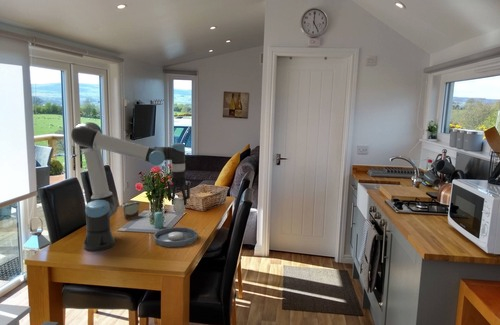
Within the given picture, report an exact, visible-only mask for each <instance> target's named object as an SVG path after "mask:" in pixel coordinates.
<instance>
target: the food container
mask: <svg viewBox="0 0 500 325" xmlns="http://www.w3.org/2000/svg"><path fill="white" fill-rule="evenodd" d="M140 203H141V202H140V201H138V200H129V201H128V200H127V201H124V202H122V205H121V208H122V209H123V216H124V220H129V219H133V218H137V217H139V212H140Z"/></svg>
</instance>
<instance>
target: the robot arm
mask: <svg viewBox="0 0 500 325" xmlns="http://www.w3.org/2000/svg"><path fill="white" fill-rule="evenodd" d="M71 139H72V142H74V143H75V144H77V145H78V147H79V150H80V151H82V152H83V154H84V159H85V164H86V168H87V173H88V178H89V182H90V183H89V184H90V188H91V191H92V195H91V196H90V201H89V202H88V203H87V204H85V209H84V212H85V222H86V235H85V237H84V241H83V249H85V250H86V251H87V250H88V251H93V252H94V251H97V252H98V251H104V250H108V249H110V248H112V247H113V246H114V245H115V244H116V242H115V238H114V235H113V233H112V230H111V218H112V217H113V215H114V214H115V213H116V211H117V208H118V203H117V200H116V199H115V197H114V194H113V192H112V191H110V188H109V184H108V179H107V173H106V169H105V164H104V160H103V155H102V151H101V150H104V151H108V152H111V153H115V154H118V155H123V156H125V157H130V158H133V159H137V160H141V161H144V162H146V163H147V162H148V163H150V164H151V165H153V166H159V165H161V164H163V163H164V161H171V179H170V180H168V181H166V184H167V190H168V191H167V197H168V199H170V200H171V205H172V206H173V211H174V212H175V198H176V194H177V189H178V187H179V188H180V191H181V193H182V198H183V200H182V209H183V211H184V212H185V211H186V205H187V204H188V202H187V200H189V199H190V198H191V189H190V188H191V183H192V182H191V181H190V180H189V181H188V180H187V179H186V171H185V170H186V146H185V144H184V143H183V142H173V143H171V145H170V146H151V147H150V146H146V145H142V144H139V143H136V142H132V141H129V140H125V139H122V138H118V137H114V136H110V135H108V134H103V131H102V128H101V126H99V125H98V124H97V123H95V122H89V121H88V122H87V121H86V122H83V123H79V124H76V125H75V126H74V127H73V128H72V130H71ZM172 185H173V188H172ZM185 185H186V190H185Z"/></svg>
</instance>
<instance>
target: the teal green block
mask: <svg viewBox="0 0 500 325" xmlns="http://www.w3.org/2000/svg"><path fill="white" fill-rule="evenodd" d="M157 228H159V229H164V212H163V211H155V212H154V229H157Z"/></svg>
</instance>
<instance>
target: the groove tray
mask: <svg viewBox="0 0 500 325" xmlns="http://www.w3.org/2000/svg"><path fill="white" fill-rule="evenodd" d="M198 237H199V236H198V232H197V231H196V230H195V229H193V228H188V227H185V226H184V227H180V226H175V227H168V228H167V227H166V228H161V229H158V230H157V231H156V232H155V233H153V235H152V238H153V242H154V243H155V244H156V245H158V246H161V247H166V248H178V247H180V246H181V247H185V245H186V246H188V245H191V243H192V244H194V243H195V242H196V241H197V239H198ZM193 242H194V243H193Z"/></svg>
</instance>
